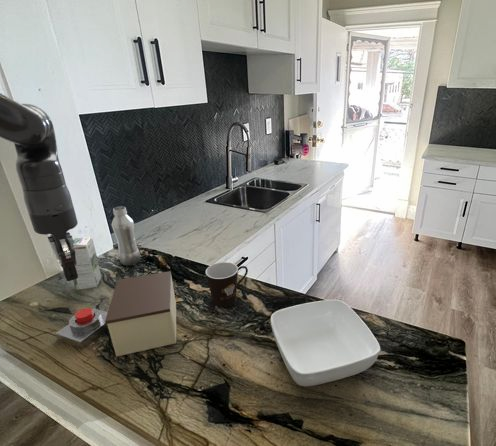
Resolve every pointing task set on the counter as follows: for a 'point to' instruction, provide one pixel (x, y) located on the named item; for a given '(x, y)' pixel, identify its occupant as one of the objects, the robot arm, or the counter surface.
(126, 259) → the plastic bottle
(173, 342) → the cream hinged box
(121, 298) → the lid
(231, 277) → the coffee mug
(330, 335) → the bowl
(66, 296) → the counter surface
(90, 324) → the control block
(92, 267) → the syrup box
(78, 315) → the button
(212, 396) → the counter surface
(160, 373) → the counter surface
